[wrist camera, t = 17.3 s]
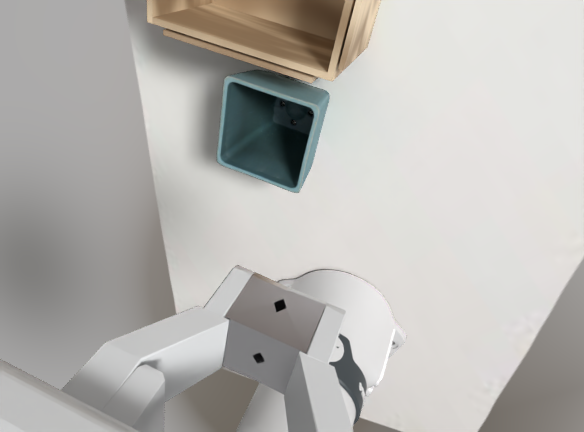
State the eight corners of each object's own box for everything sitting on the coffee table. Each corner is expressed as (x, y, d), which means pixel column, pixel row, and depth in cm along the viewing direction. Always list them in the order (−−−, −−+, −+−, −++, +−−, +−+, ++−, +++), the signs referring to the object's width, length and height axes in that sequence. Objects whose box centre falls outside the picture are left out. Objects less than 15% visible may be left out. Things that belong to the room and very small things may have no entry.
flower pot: (265, 52, 42) (223, 74, 35) (347, 78, 40) (320, 107, 33) (254, 130, 47) (215, 163, 40) (326, 156, 45) (299, 195, 38)
